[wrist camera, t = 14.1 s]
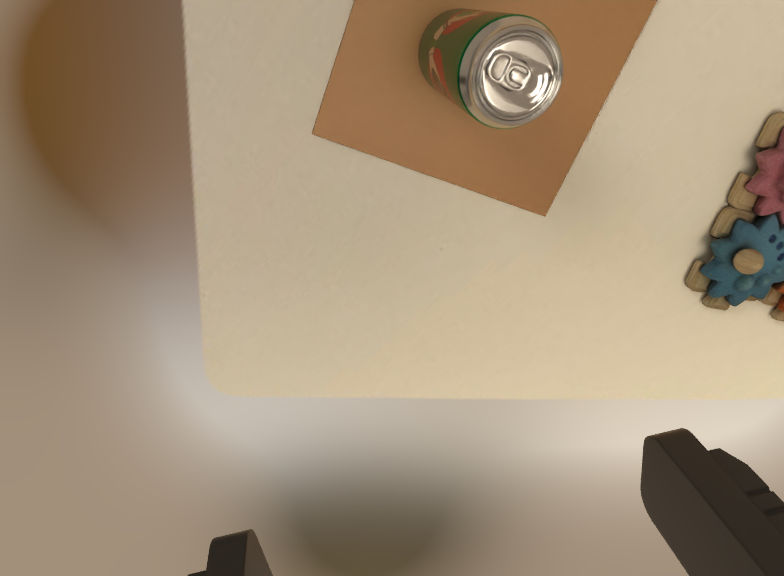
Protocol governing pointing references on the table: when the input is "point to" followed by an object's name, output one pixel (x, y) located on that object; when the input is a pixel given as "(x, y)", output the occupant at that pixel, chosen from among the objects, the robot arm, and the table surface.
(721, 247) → the gear puzzle
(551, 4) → the kraft paper
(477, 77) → the soda can
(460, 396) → the table surface
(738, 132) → the table surface
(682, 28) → the table surface
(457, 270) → the table surface
